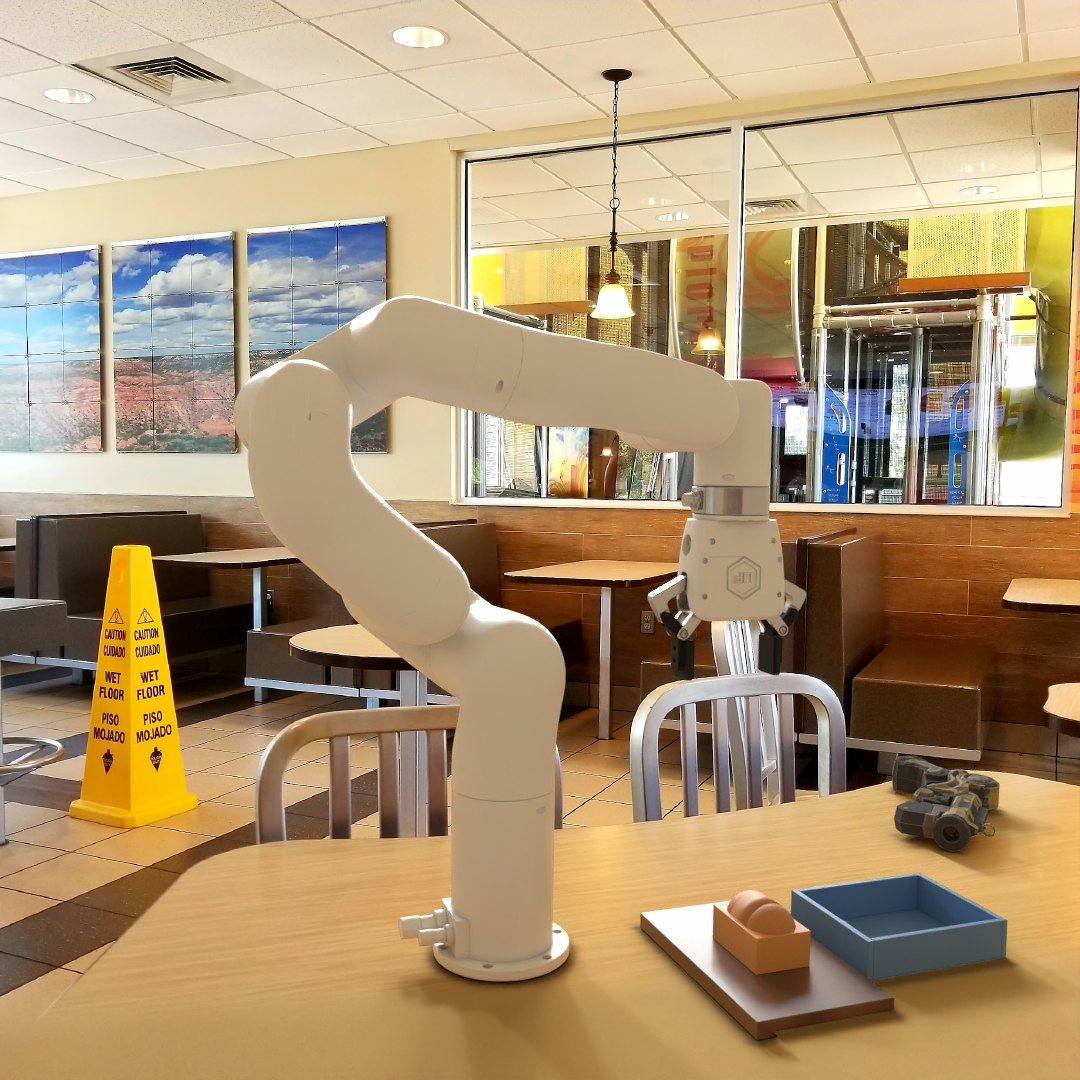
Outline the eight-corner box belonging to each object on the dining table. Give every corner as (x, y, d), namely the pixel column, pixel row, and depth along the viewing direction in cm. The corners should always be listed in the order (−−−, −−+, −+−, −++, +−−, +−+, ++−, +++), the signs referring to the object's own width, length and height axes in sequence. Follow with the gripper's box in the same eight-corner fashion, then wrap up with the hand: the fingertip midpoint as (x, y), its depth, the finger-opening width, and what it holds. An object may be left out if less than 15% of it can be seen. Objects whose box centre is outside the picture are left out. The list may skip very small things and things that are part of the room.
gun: (861, 800, 132) (993, 821, 125) (897, 752, 154) (1010, 768, 148) (860, 837, 132) (991, 860, 125) (895, 784, 155) (1008, 801, 148)
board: (756, 1040, 84) (757, 1022, 84) (639, 927, 105) (640, 912, 105) (894, 1015, 89) (895, 997, 89) (756, 911, 109) (756, 896, 109)
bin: (867, 986, 94) (868, 941, 93) (790, 929, 105) (791, 889, 105) (1006, 962, 99) (1007, 919, 98) (918, 910, 110) (919, 872, 110)
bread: (755, 975, 92) (757, 918, 92) (712, 937, 100) (713, 885, 99) (810, 966, 94) (811, 910, 94) (763, 930, 101) (764, 878, 101)
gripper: (669, 506, 100) (665, 687, 101) (827, 506, 106) (822, 678, 107) (635, 503, 107) (632, 673, 108) (785, 504, 113) (781, 665, 114)
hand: (726, 675), depth 108 cm, fingers open, 9 cm apart
